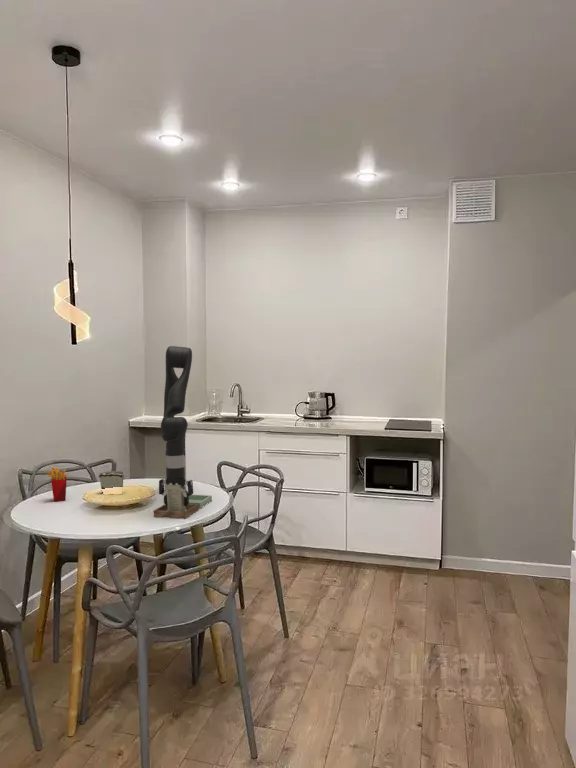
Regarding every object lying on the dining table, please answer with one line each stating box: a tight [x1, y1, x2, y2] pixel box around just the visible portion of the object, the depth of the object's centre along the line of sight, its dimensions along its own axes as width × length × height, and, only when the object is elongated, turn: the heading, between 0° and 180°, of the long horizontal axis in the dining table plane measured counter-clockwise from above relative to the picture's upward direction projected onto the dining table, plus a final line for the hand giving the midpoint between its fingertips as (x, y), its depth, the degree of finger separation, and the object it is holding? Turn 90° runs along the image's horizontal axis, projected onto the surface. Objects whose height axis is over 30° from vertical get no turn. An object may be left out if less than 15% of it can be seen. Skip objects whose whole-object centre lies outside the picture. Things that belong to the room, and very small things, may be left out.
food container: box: [98, 470, 126, 489], centre depth 283 cm, size 12×6×10 cm, turn 84°
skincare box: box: [166, 485, 187, 512], centre depth 246 cm, size 6×4×12 cm
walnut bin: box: [153, 503, 200, 520], centre depth 246 cm, size 14×13×2 cm
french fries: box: [45, 466, 68, 503], centre depth 269 cm, size 9×8×15 cm
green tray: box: [189, 494, 213, 510], centre depth 260 cm, size 14×13×2 cm
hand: (176, 505), depth 246 cm, fingers open, 8 cm apart
